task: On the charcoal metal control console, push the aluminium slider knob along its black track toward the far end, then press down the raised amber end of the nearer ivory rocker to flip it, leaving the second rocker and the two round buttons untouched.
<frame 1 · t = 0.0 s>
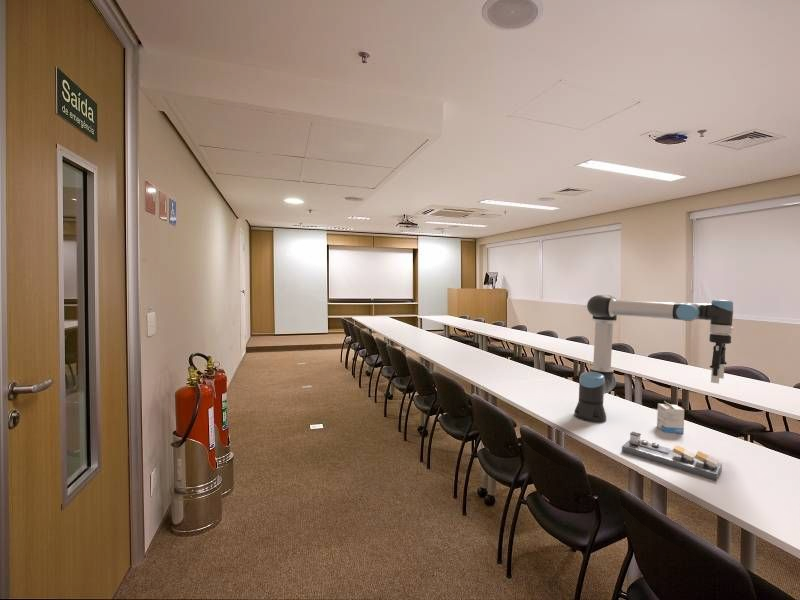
hand: (717, 380, 174), 28 cm above the table, fingers open, 13 cm apart
rocker a: (683, 452, 151), point 5 cm above the table, hinge at 15.0°
ink box: (669, 430, 188), on the table
console: (669, 460, 155), on the table
rocker b: (706, 459, 146), point 5 cm above the table, hinge at 15.0°
slider: (635, 438, 163), point 5 cm above the table, slide at 0.0 cm
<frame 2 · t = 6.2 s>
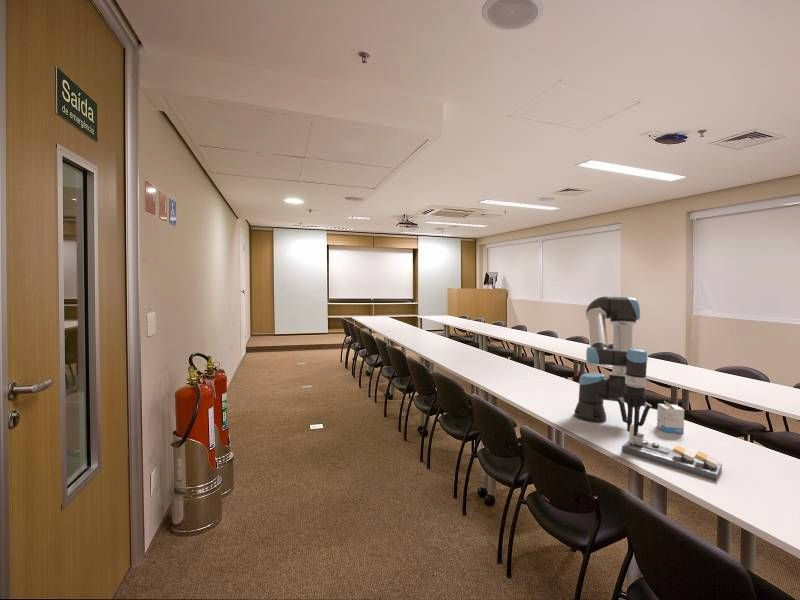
hand: (632, 439, 164), 4 cm above the table, fingers closed
slider: (638, 439, 162), point 5 cm above the table, slide at 1.2 cm, touching gripper
everything else where it was.
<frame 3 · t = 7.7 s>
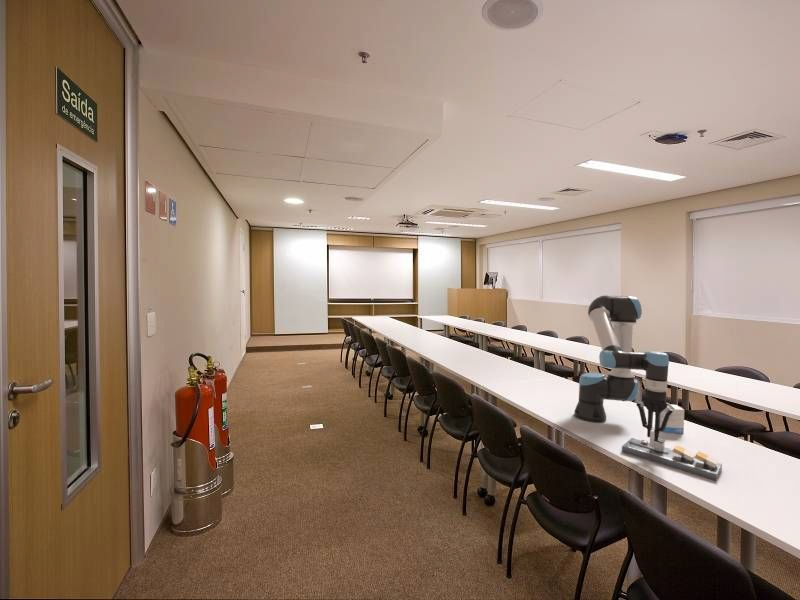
hand: (652, 445, 159), 4 cm above the table, fingers closed
slider: (659, 445, 157), point 5 cm above the table, slide at 8.7 cm, touching gripper
everything else where it was.
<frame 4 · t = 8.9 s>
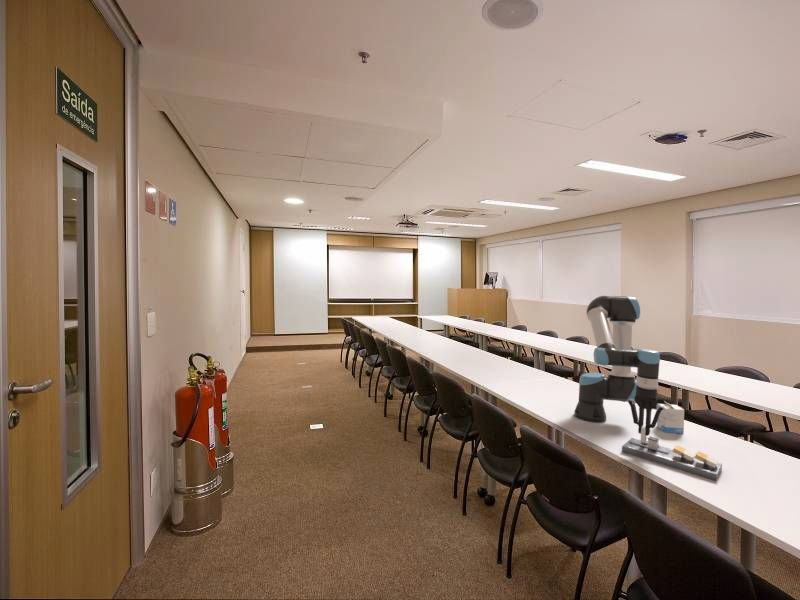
hand: (643, 441, 162), 4 cm above the table, fingers closed
slider: (653, 443, 159), point 5 cm above the table, slide at 6.6 cm
everything else where it was.
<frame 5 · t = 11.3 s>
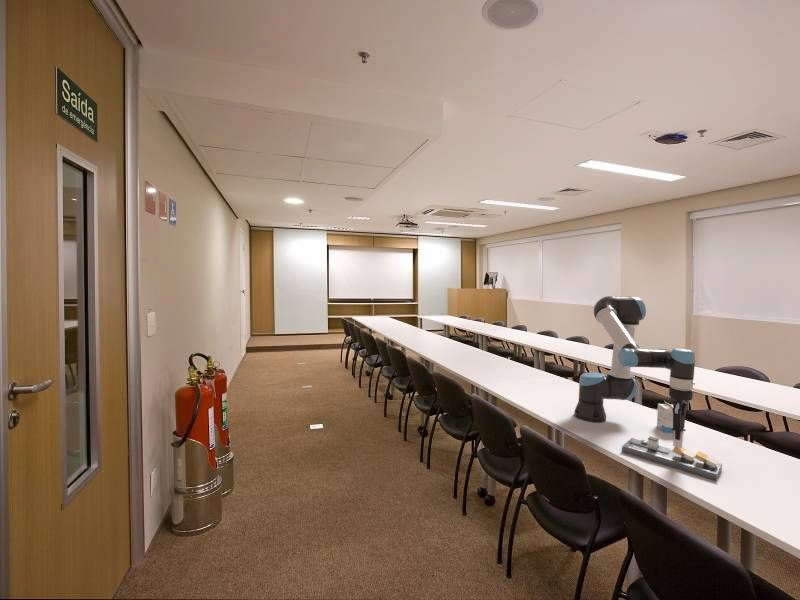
hand: (677, 446, 152), 6 cm above the table, fingers closed
rocker a: (683, 452, 151), point 5 cm above the table, hinge at 15.0°, touching gripper
everything else where it was.
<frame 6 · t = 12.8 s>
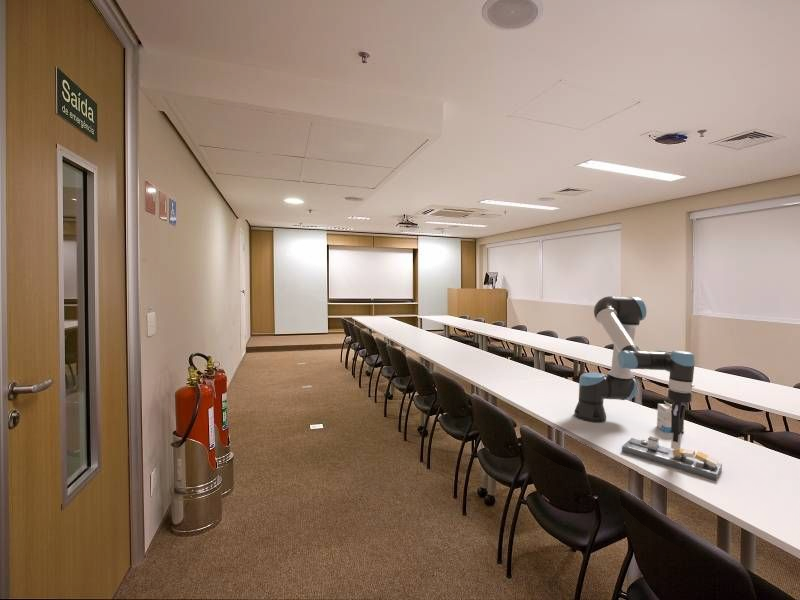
hand: (675, 448, 153), 6 cm above the table, fingers closed, pressing on rocker a
rocker a: (683, 452, 151), point 5 cm above the table, hinge at -11.1°, touching gripper
everything else where it was.
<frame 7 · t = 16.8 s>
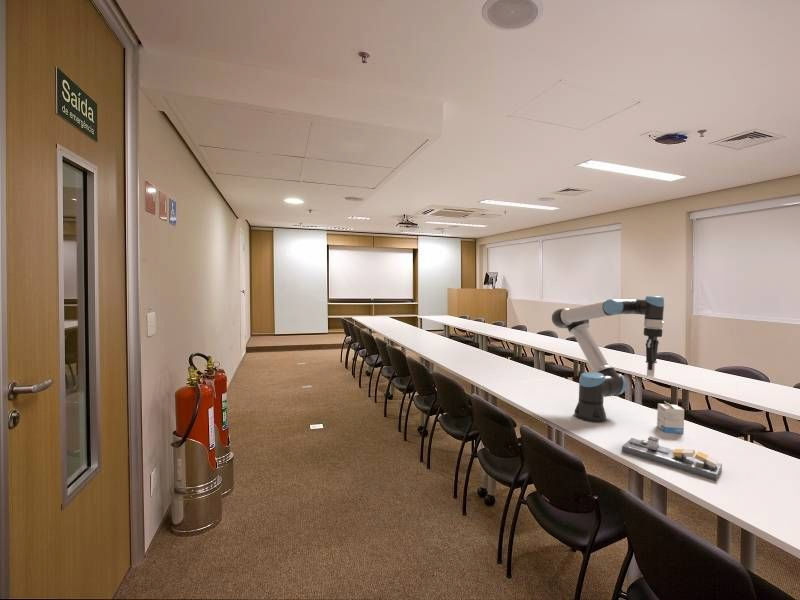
hand: (650, 376, 186), 26 cm above the table, fingers closed
rocker a: (683, 452, 151), point 5 cm above the table, hinge at -17.4°
everything else where it was.
at the end: slider slide at 6.6 cm; rocker a at -17° (first picture: +15°); rocker b at +15° (first picture: +15°) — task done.
